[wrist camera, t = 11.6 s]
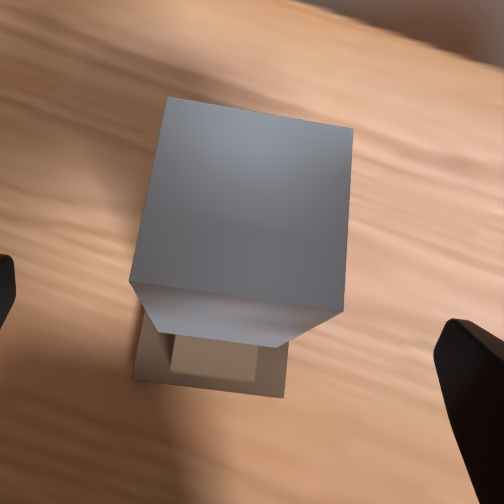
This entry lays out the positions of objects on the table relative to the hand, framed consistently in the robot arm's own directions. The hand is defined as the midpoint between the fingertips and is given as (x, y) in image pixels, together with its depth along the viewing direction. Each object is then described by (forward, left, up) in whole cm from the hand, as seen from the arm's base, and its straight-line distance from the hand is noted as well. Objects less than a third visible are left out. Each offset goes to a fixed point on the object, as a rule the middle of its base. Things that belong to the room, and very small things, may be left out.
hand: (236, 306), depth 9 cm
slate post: (+1, +2, -10) cm, 10 cm away
